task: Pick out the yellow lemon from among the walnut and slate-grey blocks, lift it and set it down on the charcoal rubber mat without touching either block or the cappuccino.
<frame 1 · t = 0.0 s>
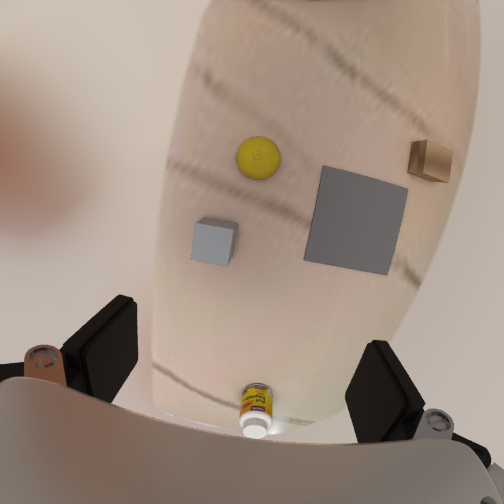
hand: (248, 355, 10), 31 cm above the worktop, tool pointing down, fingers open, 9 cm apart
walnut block: (422, 162, 37), on the worktop
mat: (358, 223, 40), on the worktop
slate block: (217, 237, 41), on the worktop
lemon: (259, 160, 38), on the worktop
supplement bottle: (257, 392, 49), on the worktop
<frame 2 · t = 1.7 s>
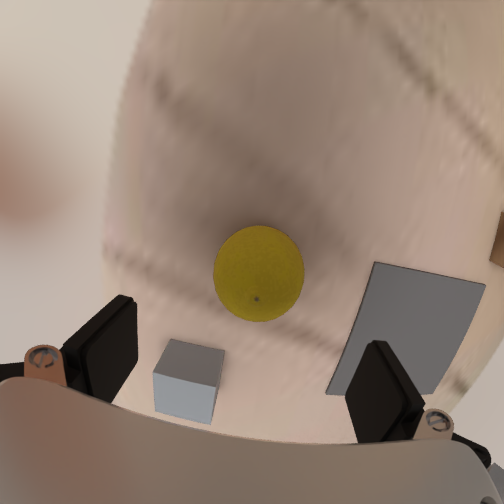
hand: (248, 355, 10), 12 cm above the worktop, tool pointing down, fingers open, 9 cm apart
mat: (412, 341, 23), on the worktop
slate block: (195, 364, 25), on the worktop
lemon: (260, 252, 21), on the worktop
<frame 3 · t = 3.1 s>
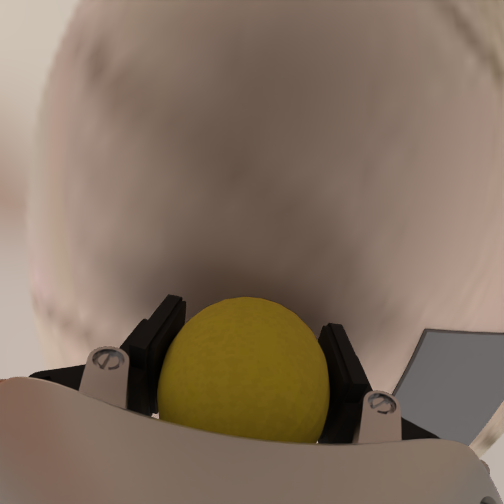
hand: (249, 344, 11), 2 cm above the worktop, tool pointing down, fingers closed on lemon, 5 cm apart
mat: (450, 413, 14), on the worktop
lemon: (251, 323, 13), on the worktop, touching gripper
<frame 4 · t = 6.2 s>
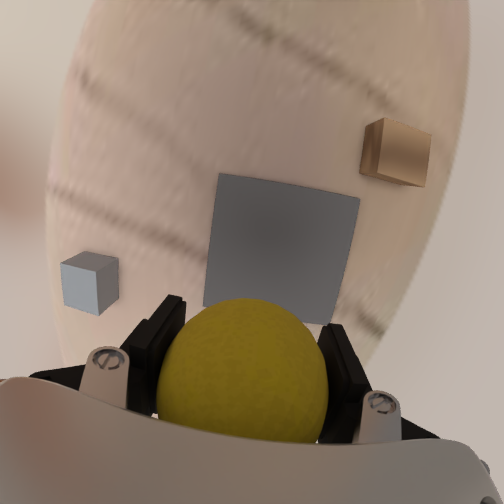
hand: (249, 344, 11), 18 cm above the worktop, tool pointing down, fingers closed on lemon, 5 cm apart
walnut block: (384, 155, 25), on the worktop
mat: (279, 254, 28), on the worktop
slate block: (101, 274, 30), on the worktop
lemon: (250, 324, 13), point 16 cm above the worktop, touching gripper
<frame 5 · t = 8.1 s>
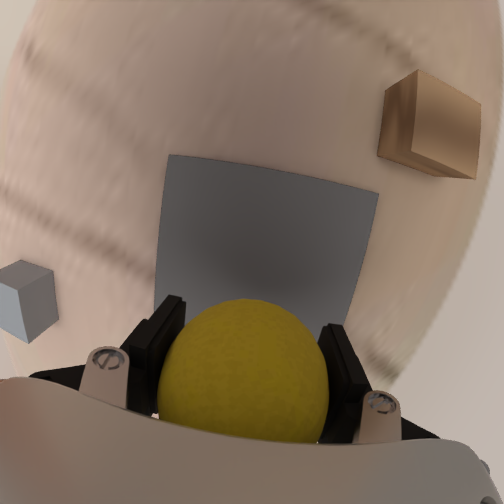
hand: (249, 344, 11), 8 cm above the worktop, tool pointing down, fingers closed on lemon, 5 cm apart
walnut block: (411, 133, 16), on the worktop
mat: (256, 273, 19), on the worktop
slate block: (38, 289, 21), on the worktop
lemon: (251, 325, 13), point 7 cm above the worktop, touching gripper
when the fingers open (4 cm above the worktop, at t = 9.4 s): lemon drops 2 cm, resting on mat.
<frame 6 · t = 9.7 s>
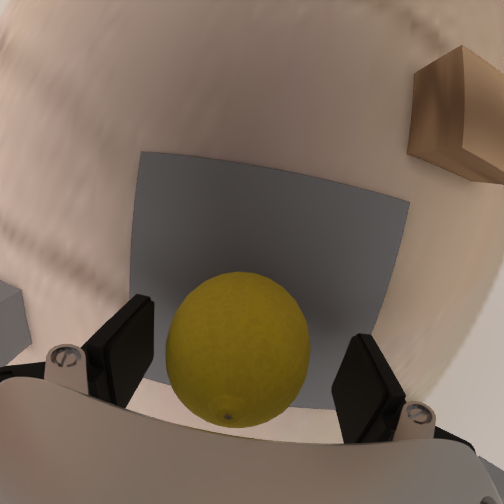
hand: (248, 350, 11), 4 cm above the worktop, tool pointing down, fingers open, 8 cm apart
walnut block: (445, 127, 12), on the worktop
mat: (253, 303, 15), on the worktop
slate block: (10, 308, 17), on the worktop
lemon: (245, 301, 15), resting on mat
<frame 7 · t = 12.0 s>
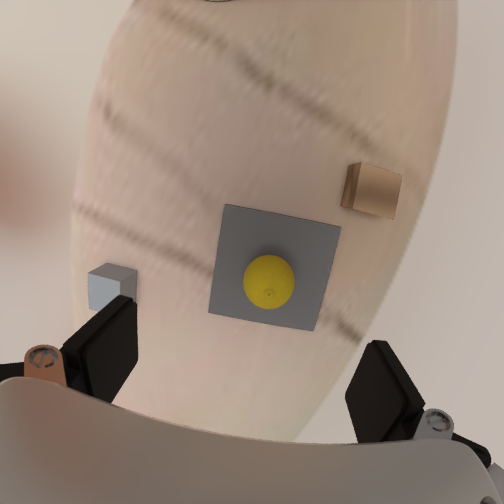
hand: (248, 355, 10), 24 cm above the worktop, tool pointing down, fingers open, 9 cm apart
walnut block: (363, 190, 32), on the worktop
mat: (272, 271, 35), on the worktop
slate block: (121, 283, 36), on the worktop
lemon: (268, 270, 34), resting on mat
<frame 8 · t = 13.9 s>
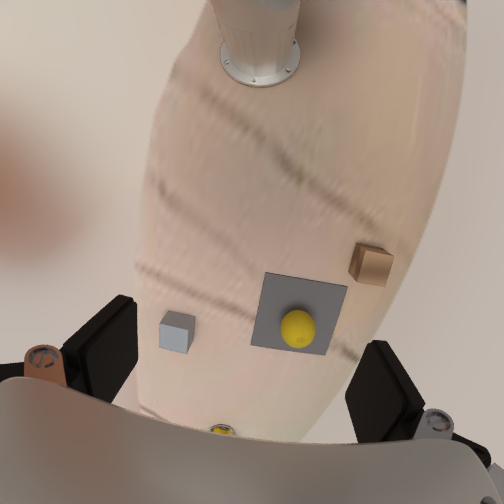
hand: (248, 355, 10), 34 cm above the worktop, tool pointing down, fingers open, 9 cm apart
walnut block: (365, 260, 44), on the worktop
mat: (297, 317, 47), on the worktop
slate block: (181, 325, 49), on the worktop
lemon: (295, 316, 47), resting on mat
supplement bottle: (222, 430, 56), on the worktop
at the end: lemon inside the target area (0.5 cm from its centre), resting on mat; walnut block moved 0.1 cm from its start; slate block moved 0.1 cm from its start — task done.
